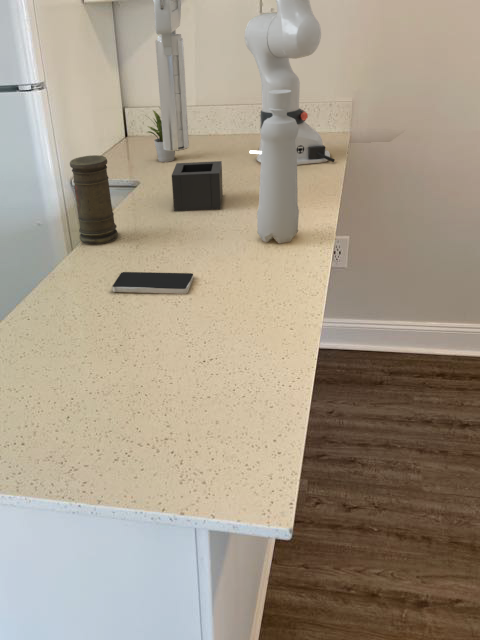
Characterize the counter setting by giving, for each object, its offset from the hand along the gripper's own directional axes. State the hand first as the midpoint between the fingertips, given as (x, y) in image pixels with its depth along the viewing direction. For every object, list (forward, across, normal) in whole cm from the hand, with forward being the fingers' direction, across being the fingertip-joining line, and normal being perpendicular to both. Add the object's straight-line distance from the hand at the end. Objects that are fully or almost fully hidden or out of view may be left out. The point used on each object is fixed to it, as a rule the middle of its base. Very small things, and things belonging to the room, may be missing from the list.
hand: (170, 53), depth 158 cm
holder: (+35, 0, -5) cm, 36 cm away
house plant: (+35, +49, +8) cm, 61 cm away
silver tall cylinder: (+21, 0, 0) cm, 21 cm away
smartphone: (+35, -54, 0) cm, 65 cm away
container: (+35, -25, +17) cm, 47 cm away
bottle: (+35, -29, -25) cm, 52 cm away
